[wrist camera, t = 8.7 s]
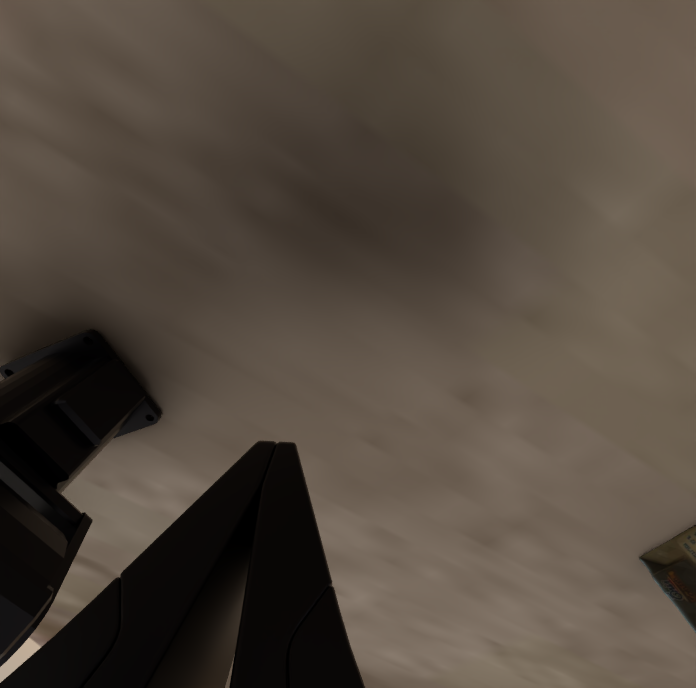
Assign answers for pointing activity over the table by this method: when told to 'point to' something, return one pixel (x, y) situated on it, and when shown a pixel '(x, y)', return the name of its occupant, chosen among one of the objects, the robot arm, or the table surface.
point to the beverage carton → (676, 572)
